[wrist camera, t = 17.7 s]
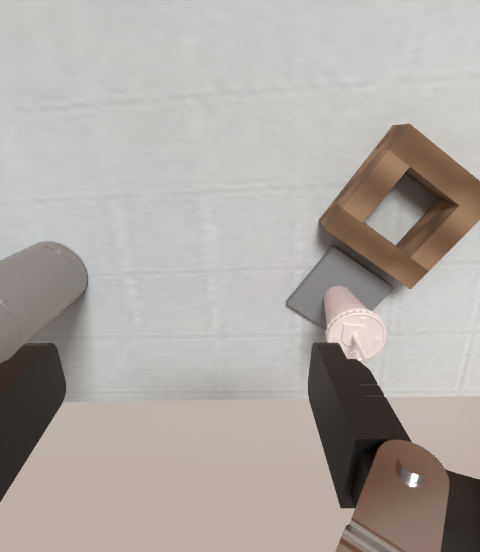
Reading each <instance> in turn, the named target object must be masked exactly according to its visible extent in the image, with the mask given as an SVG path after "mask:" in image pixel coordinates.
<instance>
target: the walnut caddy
mask: <svg viewBox="0 0 480 552" xmlns="http://www.w3.org/2000/svg"><path fill="white" fill-rule="evenodd" d="M404 173H407V174H408V175H409V176H410V177H412V178H413V179H414V180H416V181H417V182H418V183H419V184H421V185H422V186H423V187H424V188H426V189H427V190H428V191H430V192H431V193H432V194H433V195H435V196H436V197H437V198H439V199H438V200H437V201H436V202H435V203H434V204H433V205H432V207H431V208H430V209H429V210H428V211H427V212H426V213H425V214H424V215H423V216H422V217H421V219H420V220H419V221H418V222H417V223H416V224H415V225H414V226H413V227H412V228H411V229H410V231H409V232H408V233H407V234H406V235H405V236H404V237H403V238H402V239H401V240H400V242H399V243H398V244H397V245H396V246H395V245H394V244H392V243H391V242H390V241H388V240H387V239H385V238H384V237H383V236H381V235H380V234H379V233H377V232H376V231H374V230H373V229H372V228H370V227H369V226H368V225H366V224H365V223H363V222H364V221H365V219H366V218H367V217H368V216H369V215H370V213H371V212H372V211H373V210H374V209H375V208H376V206H377V205H378V204H379V203H380V202H381V200H382V199H383V198H384V197H385V196H386V194H387V193H388V192H389V191H390V190H391V189H392V187H393V186H394V185H395V184H396V183H397V181H398V180H399V179H400V178H401V177H402V176H403V174H404ZM479 220H480V181H479V180H478V179H476V178H475V177H474V176H473V175H472V174H470V173H469V172H468V171H467V170H465V169H464V168H463V167H462V166H461V165H459V164H458V163H457V162H456V161H454V160H453V159H452V158H451V157H450V156H448V155H447V154H446V153H445V152H443V151H442V150H441V149H440V148H439V147H437V146H436V145H435V144H434V143H432V142H431V141H430V140H429V139H428V138H426V137H425V136H424V135H423V134H421V133H420V132H419V131H418V130H417V129H415V128H414V127H413V126H412V125H410V124H404V125H393V126H392V127H391V129H390V130H389V131H388V132H387V134H386V135H385V136H384V137H383V139H382V140H381V141H380V143H379V144H378V145H377V146H376V148H375V149H374V150H373V152H372V153H371V154H370V155H369V157H368V158H367V159H366V160H365V162H364V163H363V164H362V166H361V167H360V168H359V169H358V171H357V172H356V173H355V175H354V176H353V177H352V178H351V180H350V181H349V182H348V184H347V185H346V186H345V187H344V189H343V190H342V191H341V192H340V194H339V195H338V196H337V198H336V199H335V200H334V201H333V203H332V204H331V205H330V207H329V208H328V209H327V210H326V212H325V213H324V214H323V215H322V217H321V218H320V219H319V221H320V223H321V224H322V226H323V227H324V228H325V230H327V231H328V232H329V233H331V234H332V235H334V236H335V237H337V238H338V239H339V240H341V241H342V242H344V243H345V244H347V245H348V246H349V247H351V248H352V249H354V250H355V251H357V252H358V253H359V254H361V255H362V256H364V257H365V258H367V259H368V260H369V261H371V262H372V263H374V264H375V265H376V266H378V267H379V268H381V269H382V270H384V271H385V272H386V273H388V274H389V275H391V276H392V277H394V278H395V279H396V280H398V281H399V282H401V283H402V284H404V285H405V286H406V287H408V288H409V289H411V288H412V287H413V286H414V285H415V284H416V283H417V282H418V281H419V280H420V279H421V278H422V277H423V276H424V275H425V274H426V273H427V272H428V271H429V270H430V269H431V268H432V267H433V266H434V265H435V264H436V263H437V262H438V261H439V260H440V259H441V258H442V257H443V256H444V255H445V254H446V253H447V252H448V251H449V250H450V249H451V248H452V247H453V246H454V245H455V244H456V243H457V242H458V241H459V240H460V239H461V238H462V237H463V236H464V235H465V234H466V233H467V232H468V231H469V230H470V229H471V228H472V227H473V226H474V225H475V224H476V223H477V222H478V221H479Z"/></svg>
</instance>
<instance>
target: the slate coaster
mask: <svg viewBox="0 0 480 552" xmlns="http://www.w3.org/2000/svg"><path fill="white" fill-rule="evenodd" d="M334 286H344V287H346V288H347V289H348V290H349V291H350V292H351V293H352V294H353V295H354V296H355V297H356V298H357V299H358V300H359V301H360V302H361V303H362V304H363V305H364V306H365V307H366V308H367V309H368V310H370V311H372V310H373V309H374V308H375V307H376V306H377V305H378V304H379V303H380V302H381V301H382V300H383V299H384V298H385V297H386V296H387V295H388V294H389V293H390V292H391V291H392V290H393V289H394V288H393V287H392V286H391V285H390V284H388V283H387V282H385V281H384V280H383V279H381V278H380V277H378V276H377V275H375V274H374V273H372V272H371V271H370V270H368V269H367V268H365V267H364V266H362V265H361V264H360V263H358V262H357V261H355V260H354V259H352V258H351V257H349V256H348V255H347V254H345V253H344V252H342V251H341V250H339V249H338V248H337V247H335V246H334V245H332V246H331V248H330V249H329V250H328V251H327V252H326V254H325V255H324V256H323V257H322V258H321V260H320V261H319V262H318V263H317V264H316V266H315V267H314V268H313V269H312V271H311V272H310V273H309V274H308V275H307V277H306V278H305V279H304V280H303V281H302V283H301V284H300V285H299V286H298V287H297V289H296V290H295V291H294V292H293V294H292V295H291V296H290V297H289V298H288V300H287V301H286V303H287V305H288V306H290V307H291V308H293V309H294V310H296V311H298V312H299V313H301V314H302V315H304V316H305V317H307V318H309V319H310V320H312V321H313V322H315V323H316V324H318V325H320V326H321V327H323V328H324V329H327V323H326V315H325V307H324V295H325V293H326V291H327V290H328V289H330V288H331V287H334Z"/></svg>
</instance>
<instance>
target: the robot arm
mask: <svg viewBox="0 0 480 552" xmlns="http://www.w3.org/2000/svg"><path fill="white" fill-rule="evenodd" d="M86 286H87V273H86V269H85V267H84V265H83V263H82V261H81V260H80V258H79V257H78V256H77V255H76V254H75V253H74V252H73V251H71V250H70V249H68V248H67V247H65V246H63V245H61V244H58V243H54V242H41V243H37V244H35V245H33V246H30V247H28V248H26V249H24V250H22V251H20V252H18V253H15V254H13V255H11V256H9V257H7V258H5V259H3V260H1V261H0V502H1V500H2V498H3V497H4V495H5V494H6V492H7V490H8V489H9V487H10V486H11V484H12V482H13V481H14V479H15V477H16V476H17V474H18V473H19V471H20V470H21V468H22V466H23V465H24V463H25V462H26V460H27V459H28V457H29V455H30V454H31V452H32V451H33V449H34V447H35V446H36V444H37V443H38V441H39V439H40V438H41V436H42V434H43V433H44V431H45V430H46V428H47V427H48V425H49V424H50V422H51V420H52V419H53V417H54V416H55V414H56V412H57V411H58V409H59V408H60V406H61V404H62V403H63V400H64V397H65V393H66V381H65V377H64V373H63V369H62V366H61V362H60V358H59V354H58V350H57V347H56V346H55V345H54V344H53V343H28V342H29V341H30V340H31V339H32V338H33V337H34V336H36V335H37V334H38V333H39V332H40V331H41V330H42V329H44V328H45V327H46V326H47V325H48V324H49V323H50V322H52V321H53V320H54V319H55V318H56V317H57V316H58V315H60V314H61V313H62V312H63V311H64V310H65V309H67V308H68V307H69V306H70V305H71V304H72V303H73V302H74V301H76V300H77V299H78V298H79V297H80V296H81V295H82V294H83V293H84V291H85V289H86ZM26 343H27V344H26ZM308 395H309V401H310V404H311V408H312V411H313V415H314V418H315V422H316V425H317V429H318V432H319V435H320V439H321V442H322V446H323V449H324V452H325V456H326V459H327V463H328V466H329V470H330V473H331V477H332V480H333V483H334V486H335V490H336V493H337V497H338V500H339V504H340V507H341V508H355V511H354V513H353V516H352V519H351V521H350V524H349V525H347V526H346V528H345V529H344V532H343V534H342V536H341V539H340V541H339V544H338V546H337V549H336V552H480V480H479V479H475V478H472V477H468V476H464V475H461V474H457V473H454V472H451V471H448V470H446V469H444V467H443V465H442V464H441V463H440V462H439V460H438V459H437V458H436V457H435V456H433V455H432V454H431V453H430V452H429V451H427V450H426V449H424V448H423V447H421V446H419V445H417V444H414V443H412V441H411V440H410V438H409V436H408V435H407V433H406V431H405V430H404V428H403V426H402V425H401V423H400V421H399V419H398V418H397V416H396V415H395V413H394V411H393V409H392V408H391V406H390V404H389V402H388V401H387V399H386V397H384V394H383V392H382V390H381V389H380V387H379V386H378V385H377V382H376V380H375V378H374V377H373V375H372V373H371V371H370V370H369V369H368V368H367V367H365V366H364V365H363V364H362V363H361V362H360V361H358V360H357V359H347V358H346V356H345V354H344V352H343V350H342V348H341V346H340V344H339V343H314V344H313V346H312V352H311V361H310V369H309V378H308Z"/></svg>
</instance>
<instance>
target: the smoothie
mask: <svg viewBox="0 0 480 552" xmlns="http://www.w3.org/2000/svg"><path fill="white" fill-rule="evenodd" d="M324 307H325V315H326V323H327V329H326V342H327V343H339V344H340V346H341V348H342V350H343V352H344V354H345V356H346V358H347V359H357V360H358V361H363V362H364V363H367V362H369V359H370V358H372V357H373V356H375V355H376V354H378V353H379V352H380V351H381V349H382V348H383V347H384V345H385V343H386V339H387V330H386V327H385V325H384V323H383V321H382V320H381V318H380V317H379V316H378V315H377V314H376V313H374V312H372V311H370V310H368V309H367V308H366V307H365V306H364V305H363V304H362V303H361V302H360V301H359V300H358V299H357V298H356V297H355V296H354V295H353V294H352V293H351V292H350V291H349V290H348V289H347V288H346V287H344V286H334V287H331V288H330V289H328V290H327V291H326V293H325V295H324Z"/></svg>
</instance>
